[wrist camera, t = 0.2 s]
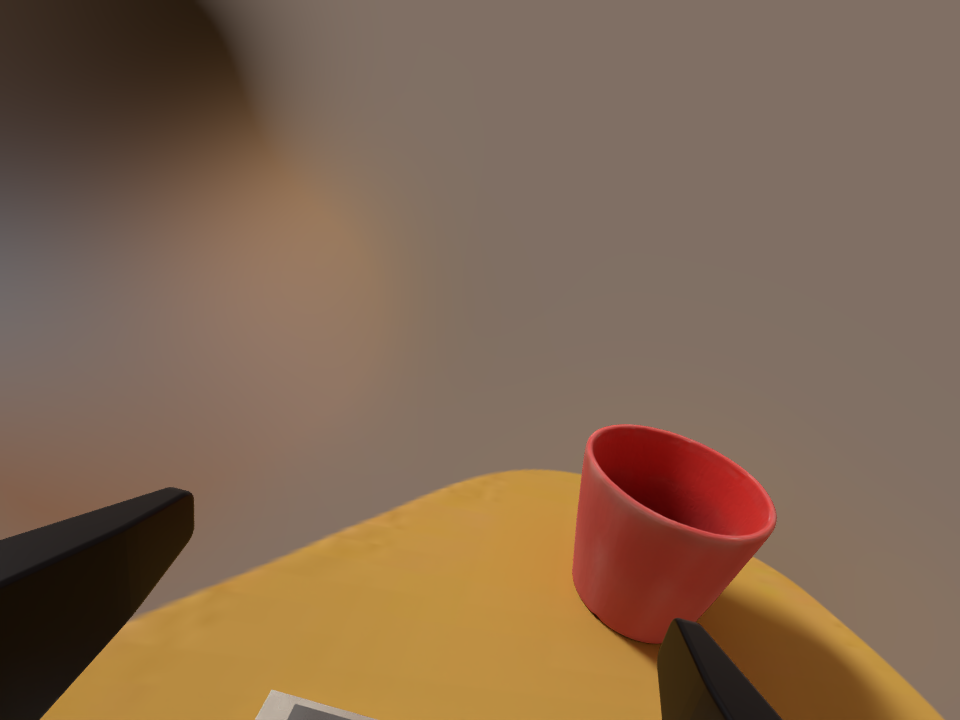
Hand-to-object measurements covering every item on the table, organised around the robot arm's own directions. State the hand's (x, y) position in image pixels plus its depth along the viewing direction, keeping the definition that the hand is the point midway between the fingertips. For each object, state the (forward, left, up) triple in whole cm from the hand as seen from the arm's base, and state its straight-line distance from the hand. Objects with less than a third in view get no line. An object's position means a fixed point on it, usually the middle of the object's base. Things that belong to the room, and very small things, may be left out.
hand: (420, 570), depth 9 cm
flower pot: (+19, -12, -17) cm, 28 cm away
